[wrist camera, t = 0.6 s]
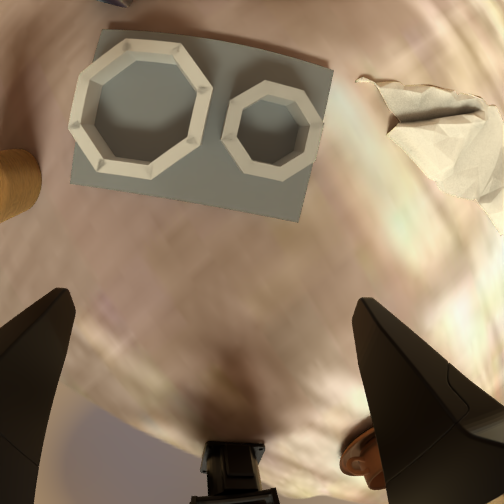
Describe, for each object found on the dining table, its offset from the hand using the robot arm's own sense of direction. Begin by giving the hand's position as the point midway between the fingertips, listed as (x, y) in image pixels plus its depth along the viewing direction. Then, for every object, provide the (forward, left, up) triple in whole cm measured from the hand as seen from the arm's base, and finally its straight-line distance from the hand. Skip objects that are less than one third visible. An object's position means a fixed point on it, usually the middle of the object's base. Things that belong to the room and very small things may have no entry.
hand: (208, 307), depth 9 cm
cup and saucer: (-25, -26, -14) cm, 38 cm away
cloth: (+10, -21, -15) cm, 28 cm away
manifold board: (+6, +2, -14) cm, 15 cm away
